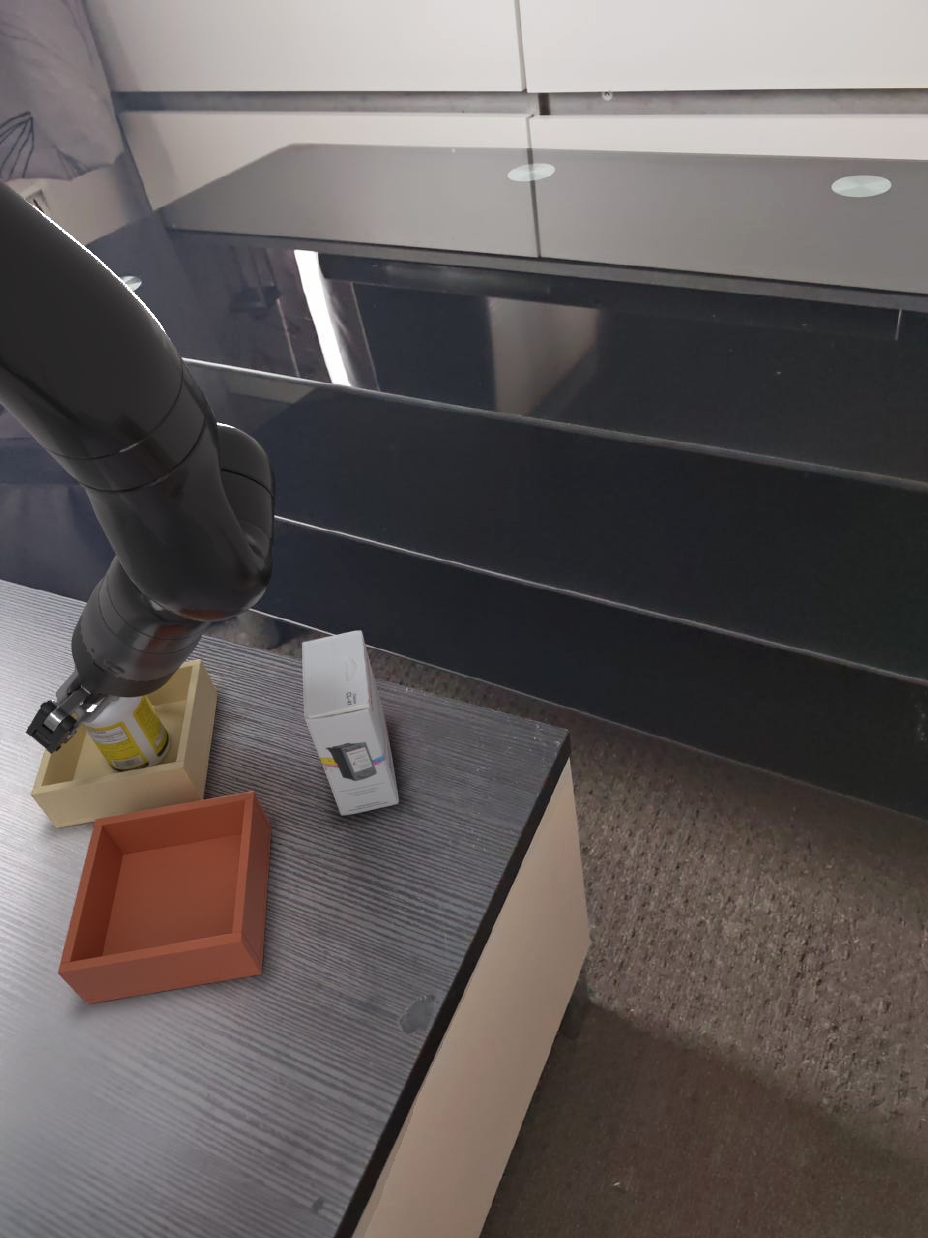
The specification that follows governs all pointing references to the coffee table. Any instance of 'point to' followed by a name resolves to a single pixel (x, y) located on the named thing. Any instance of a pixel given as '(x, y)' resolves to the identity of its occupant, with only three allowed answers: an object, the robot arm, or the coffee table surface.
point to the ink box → (348, 722)
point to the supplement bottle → (129, 734)
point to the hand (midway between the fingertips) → (95, 696)
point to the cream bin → (91, 789)
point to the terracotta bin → (170, 899)
